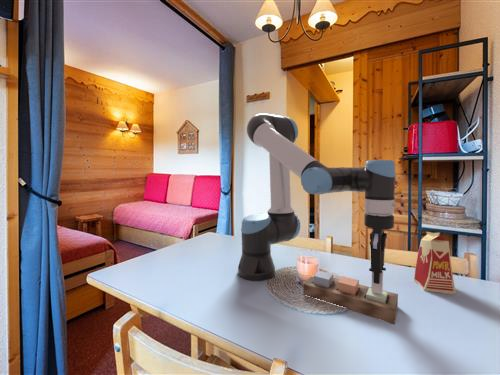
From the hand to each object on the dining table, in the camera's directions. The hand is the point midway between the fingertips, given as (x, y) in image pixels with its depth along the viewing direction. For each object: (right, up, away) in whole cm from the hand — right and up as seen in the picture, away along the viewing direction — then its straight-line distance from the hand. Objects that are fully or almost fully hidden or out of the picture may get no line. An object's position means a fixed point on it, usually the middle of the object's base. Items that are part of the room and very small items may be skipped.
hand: (376, 292), depth 71 cm
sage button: (0, -5, 0) cm, 5 cm away
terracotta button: (-6, -3, +5) cm, 9 cm away
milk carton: (+27, -4, +14) cm, 31 cm away
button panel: (-6, -5, +5) cm, 10 cm away
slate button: (-13, -3, +10) cm, 16 cm away
